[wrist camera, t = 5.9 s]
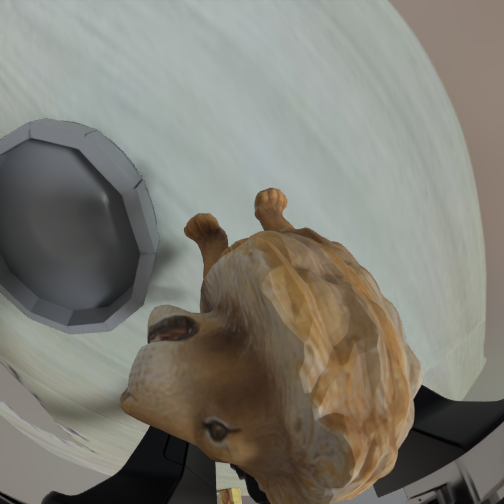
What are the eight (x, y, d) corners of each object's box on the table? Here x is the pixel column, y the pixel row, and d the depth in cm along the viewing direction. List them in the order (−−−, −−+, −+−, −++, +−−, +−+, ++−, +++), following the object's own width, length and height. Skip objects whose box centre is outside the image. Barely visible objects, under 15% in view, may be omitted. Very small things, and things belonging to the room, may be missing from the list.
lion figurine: (108, 139, 6) (125, 571, 1) (286, 93, 7) (539, 388, 2) (212, 342, 18) (252, 468, 12) (286, 318, 18) (337, 438, 13)
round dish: (182, 300, 22) (181, 322, 20) (36, 319, 21) (27, 336, 19) (127, 86, 13) (114, 84, 11) (-31, 166, 12) (-49, 176, 10)
